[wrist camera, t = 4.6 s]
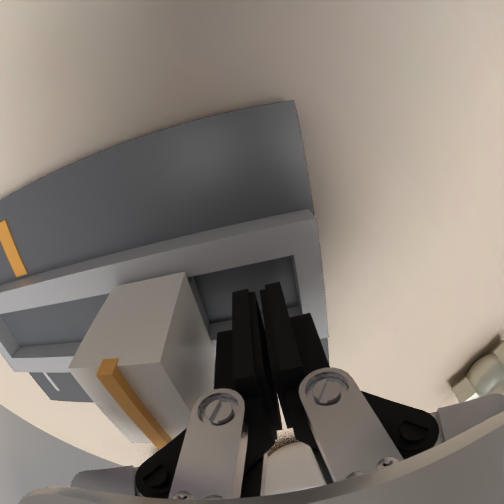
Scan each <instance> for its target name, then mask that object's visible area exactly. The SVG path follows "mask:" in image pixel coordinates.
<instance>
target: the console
mask: <svg viewBox="0 0 504 504" xmlns="http://www.w3.org/2000/svg"><path fill="white" fill-rule="evenodd" d="M181 272H185V273H186V276H187V277H192V276H193V277H194V280H195V283H196V285H197V288H198V291H199V294H200V297H201V300H202V302H203V305H204V308H205V311H206V313H207V316H208V319H209V328H208V335H209V337H210V340H211V342H212V345H213V347H214V350H215V358H216V341H217V333H218V332H221V331H227V330H232V292H234V291H239V290H243V289H248V290H249V292H253V291H255V294H256V298H257V301H258V305H259V309H260V313H261V317H262V320H263V324H264V319H263V312H262V305H261V298H260V291H259V290H263V289H265V285H266V284H270V283H275V282H279V281H280V284H281V287H282V291H283V295H284V298H285V302H286V306H287V310H288V313H289V317H293V316H297V315H301V314H306V313H310V314H311V316H312V319H313V321H314V324H315V327H316V330H317V332H318V335H319V338H320V341H321V343H322V346H323V349H324V352H325V355H326V358H327V360H328V363H329V353H328V338H327V337H329V336H328V323H327V310H326V299H325V288H324V278H323V269H322V260H321V251H320V243H319V235H318V227H317V220H316V217H315V215H314V208H313V202H312V195H311V189H310V182H309V176H308V170H307V164H306V158H305V153H304V147H303V142H302V136H301V131H300V126H299V121H298V116H297V111H296V106H295V101H294V100H291V101H285V102H279V103H273V104H267V105H261V106H256V107H251V108H246V109H241V110H236V111H232V112H227V113H223V114H219V115H214V116H210V117H206V118H202V119H199V120H195V121H191V122H187V123H184V124H180V125H177V126H173V127H170V128H167V129H164V130H160V131H157V132H154V133H151V134H148V135H145V136H142V137H139V138H136V139H133V140H130V141H127V142H125V143H122V144H119V145H117V146H114V147H111V148H109V149H106V150H104V151H101V152H98V153H96V154H94V155H91V156H89V157H86V158H84V159H82V160H79V161H77V162H75V163H72V164H70V165H68V166H66V167H64V168H61V169H59V170H57V171H55V172H53V173H51V174H49V175H47V176H45V177H43V178H41V179H39V180H37V181H35V182H33V183H31V184H29V185H27V186H25V187H23V188H21V189H20V190H18V191H16V192H14V193H12V194H11V195H9V196H7V197H5V198H4V199H2V200H0V353H1V354H2V356H3V357H4V359H5V360H6V361H7V363H8V364H9V366H10V367H11V368H12V370H13V371H14V372H29V373H30V375H31V376H32V377H33V378H34V380H35V381H36V382H37V384H38V385H39V386H40V387H41V388H42V390H43V391H44V392H45V393H46V394H47V396H48V397H49V398H50V399H51V400H57V401H72V402H93V400H92V399H91V398H90V397H89V396H88V394H87V393H86V392H85V391H84V389H83V388H82V387H81V386H80V384H79V383H78V382H77V380H76V379H75V378H74V377H73V375H72V374H71V373H70V371H69V370H68V366H69V365H70V363H71V361H72V359H73V357H74V355H75V353H76V351H77V349H78V348H79V346H80V344H81V342H82V340H83V339H84V337H85V335H86V333H87V331H88V330H89V328H90V326H91V324H92V323H93V321H94V319H95V318H96V316H97V314H98V313H99V311H100V309H101V307H102V306H103V304H104V303H105V301H106V299H107V298H108V296H109V294H110V293H111V291H112V290H113V288H114V286H119V285H124V284H128V283H133V282H138V281H143V280H147V279H152V278H157V277H162V276H167V275H171V274H176V273H181ZM264 328H265V326H264ZM214 377H215V364H214ZM213 390H214V383H213Z"/></svg>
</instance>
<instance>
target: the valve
mask: <svg viewBox="0 0 504 504" xmlns="http://www.w3.org/2000/svg"><path fill="white" fill-rule="evenodd" d="M490 353H491V354H488V355H485V356H483V357H481V358H480V359H478V360H477V361H476V362H475V363H474V364H473V365H472V367H471V368H470V370H469V372H468V374H467V377H465V376H464V377H463V378H462V379H461V380H460V381H458V382H457V383H456V384H455V385H454V386H452V388H451V389H452V391H453V392H454V394H455V396H456V397H457V399H458V400H459V402H460V403H462V402H466V401H469V400H472V399H476V398H479V397H482V396H485V395H488V394H494V393H497V394H501V395H503V396H504V340H503V341H501V342H500V343H499V344H498V345H497V346H496V347H495V348H494V349H493V350H492V351H491V352H490Z"/></svg>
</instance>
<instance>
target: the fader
mask: <svg viewBox="0 0 504 504" xmlns="http://www.w3.org/2000/svg"><path fill="white" fill-rule="evenodd" d="M208 328H209V319H208V316H207V313H206V311H205V308H204V305H203V302H202V300H201V297H200V294H199V291H198V288H197V285H196V283H195V280H194V277H193V276H192V277H187V276H186V273H185V272H181V273H176V274H171V275H167V276H162V277H157V278H152V279H147V280H143V281H138V282H133V283H128V284H124V285H119V286H114V288H113V290H112V291H111V293H110V294H109V296H108V298H107V299H106V301H105V303H104V304H103V306H102V307H101V309H100V311H99V313H98V314H97V316H96V318H95V319H94V321H93V323H92V324H91V326H90V328H89V330H88V331H87V333H86V335H85V337H84V339H83V340H82V342H81V344H80V346H79V348H78V349H77V351H76V353H75V355H74V357H73V359H72V361H71V363H70V365H69V366H68V370H69V371H70V373H71V374H72V375H73V377H74V378H75V379H76V380H77V382H78V383H79V384H80V386H81V387H82V388H83V389H84V391H85V392H86V393H87V394H88V396H89V397H90V398H91V399H92V400H93V402H94V403H95V404H96V405H97V406H98V407H99V409H100V410H101V411H102V412H103V413H104V414H105V415H106V416H107V418H108V419H109V420H110V421H111V422H112V423H113V424H114V425H115V426H116V427H117V428H118V429H119V430H120V431H121V433H122V434H123V435H124V436H125V437H126V438H127V439H128V440H129V441H130V442H131V443H153V444H154V445H155V446H156V447H157V448H158V449H159V450H160V449H161V448H163V447H164V446H165V445H166V444H168V443H169V442H170V441H171V440H173V439H174V438H175V437H176V436H178V435H179V434H180V433H181V432H182V431H184V430H185V429H186V428H187V427H188V423H189V419H190V416H191V412H192V409H193V406H194V404H195V402H196V401H197V400H198V399H199V398H200V397H201V396H202V395H204V394H205V393H207V392H209V391H212V390H213V383H214V364H215V350H214V347H213V345H212V342H211V340H210V337H209V335H208Z"/></svg>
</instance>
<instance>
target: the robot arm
mask: <svg viewBox="0 0 504 504" xmlns="http://www.w3.org/2000/svg"><path fill="white" fill-rule="evenodd" d="M259 291H260V298H261V305H262V312H263V319H264V324H263V320H262V317H261V313H260V309H259V305H258V301H257V298H256V294H255V291H253V292H249V290H248V289H243V290H239V291H234V292H232V330H227V331H221V332H218V333H217V341H216V358H215V377H214V390H212V391H209V392H207V393H205V394H204V395H202V396H201V397H200V398H199V399H198V400H197V401H196V402H195V404H194V406H193V409H192V412H191V416H190V419H189V423H188V427H187V428H186V429H185V430H184V431H182V432H181V433H180V434H179V435H178V436H176V437H175V438H174V439H173V440H171V441H170V442H169V443H168V444H166V445H165V446H164V447H163V448H161V449H160V450H159V451H158V452H156V453H155V454H154V455H153V456H151V457H150V458H149V459H147V460H146V461H145V462H144V463H143V464H142V465H141V466H140V467H136V468H135V467H134V466H132V465H131V466H124V467H117V468H109V469H100V470H87V471H82V472H79V473H78V474H77V475H75V477H74V478H73V480H72V482H71V487H47V488H43V489H38V490H34V491H32V492H29V493H28V494H26V495H25V496H23V498H22V499H21V500H20V502H19V503H18V504H504V396H503V395H501V394H497V393H494V394H488V395H485V396H482V397H479V398H476V399H472V400H469V401H466V402H462V403H458V404H454V405H451V406H447V407H442V408H438V410H437V412H433V413H427V412H425V411H423V410H419V409H416V408H412V407H409V406H406V405H403V404H399V403H396V402H393V401H390V400H387V399H384V398H381V397H378V396H375V395H372V394H369V393H366V392H363V391H360V389H359V387H358V386H357V384H356V383H355V381H354V380H353V378H352V377H351V376H350V375H349V374H348V373H347V372H345V371H343V370H342V369H338V368H330V366H329V363H328V360H327V358H326V355H325V352H324V349H323V346H322V343H321V341H320V338H319V335H318V332H317V330H316V327H315V324H314V321H313V319H312V316H311V314H310V313H306V314H301V315H297V316H293V317H289V313H288V310H287V306H286V302H285V298H284V295H283V291H282V287H281V284H280V281H279V282H275V283H270V284H266V285H265V289H263V290H259ZM264 326H265V328H264ZM277 394H278V396H277ZM278 398H279V401H280V405H281V408H282V412H283V415H284V418H285V422H286V425H287V428H293V430H294V434H295V438H296V439H297V440H299V441H300V442H302V443H304V444H306V445H308V446H309V448H310V451H311V453H312V456H313V458H314V460H315V463H316V465H317V468H318V470H319V472H320V475H321V477H322V480H323V482H324V484H325V485H323V486H318V487H314V488H309V489H304V490H299V491H293V492H287V493H281V494H274V495H266V496H265V484H266V473H267V460H268V454H267V451H268V450H269V449H270V448H271V447H272V446H273V445H274V444H275V440H276V439H277V432H276V431H277V430H282V423H281V416H280V410H279V403H278Z"/></svg>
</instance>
